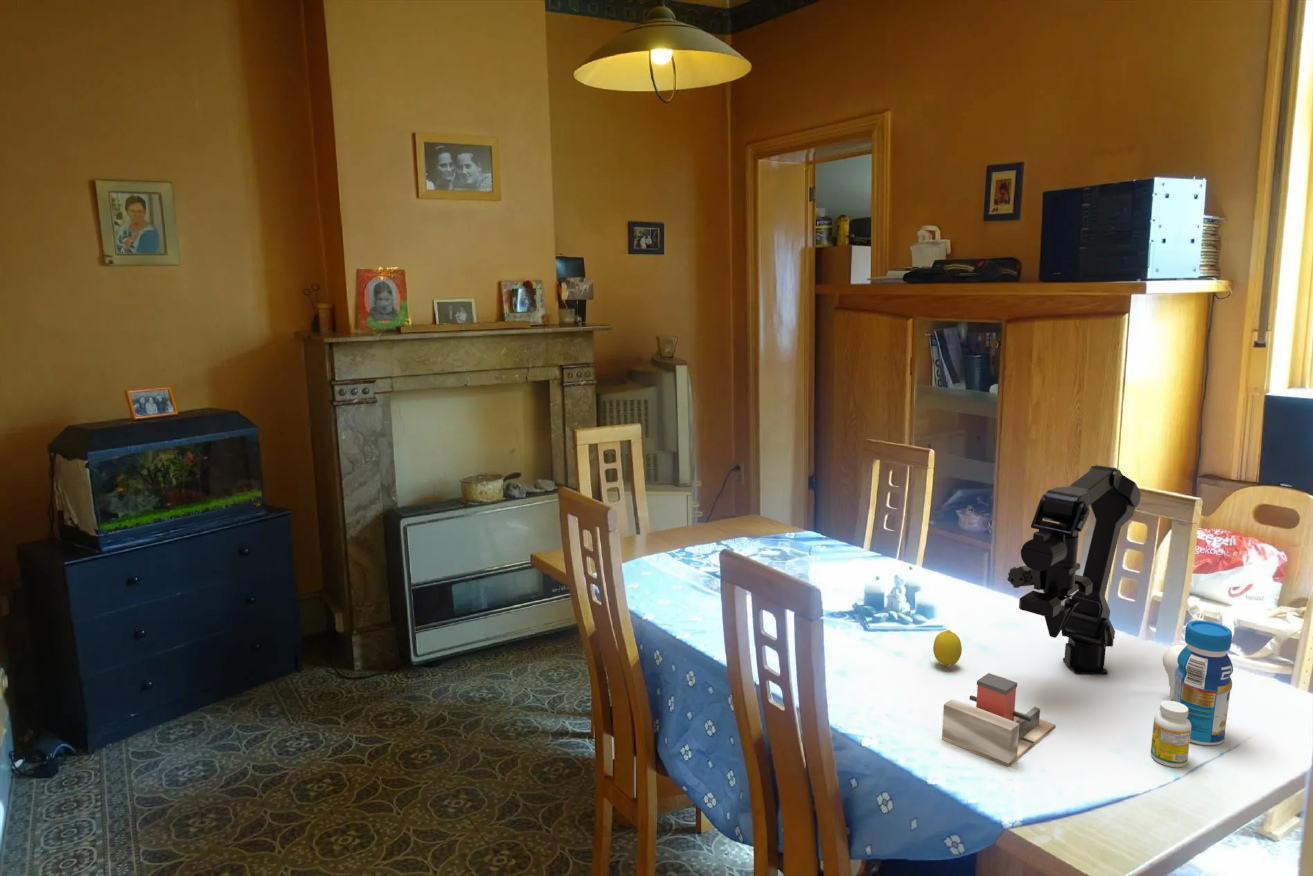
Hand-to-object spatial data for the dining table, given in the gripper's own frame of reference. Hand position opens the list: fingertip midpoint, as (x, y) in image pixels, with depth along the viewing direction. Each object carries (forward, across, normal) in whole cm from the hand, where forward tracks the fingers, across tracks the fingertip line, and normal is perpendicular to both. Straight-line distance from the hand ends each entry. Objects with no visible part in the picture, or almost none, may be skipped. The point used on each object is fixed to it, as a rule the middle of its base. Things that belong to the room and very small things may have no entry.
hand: (1053, 636), depth 166 cm
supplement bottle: (+12, +8, +23) cm, 27 cm away
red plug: (+12, +22, 0) cm, 25 cm away
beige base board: (+12, +20, 0) cm, 23 cm away
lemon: (+12, +3, -20) cm, 23 cm away
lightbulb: (+12, -15, +18) cm, 26 cm away
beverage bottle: (+12, -4, +24) cm, 27 cm away
